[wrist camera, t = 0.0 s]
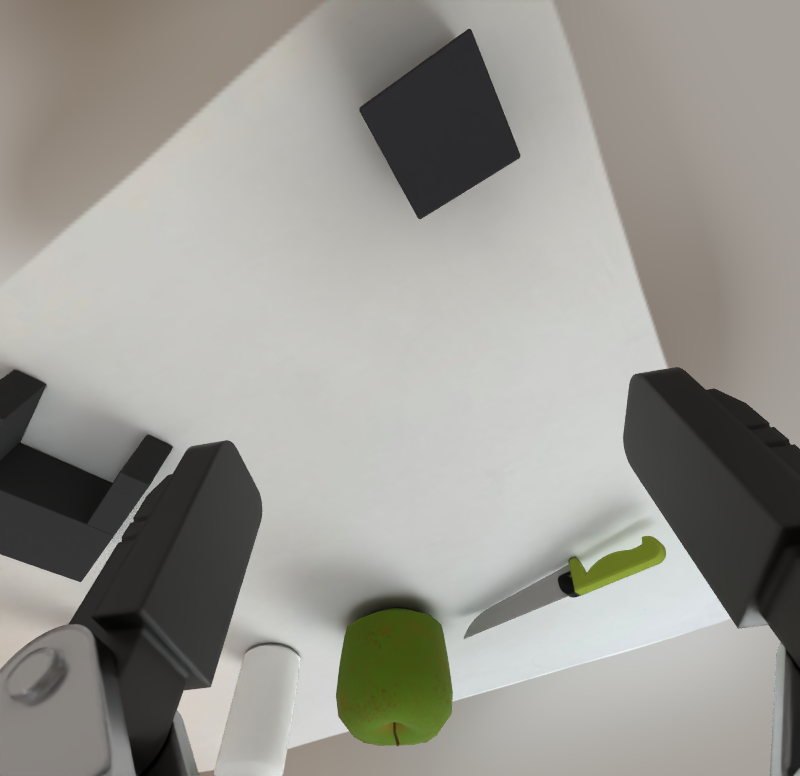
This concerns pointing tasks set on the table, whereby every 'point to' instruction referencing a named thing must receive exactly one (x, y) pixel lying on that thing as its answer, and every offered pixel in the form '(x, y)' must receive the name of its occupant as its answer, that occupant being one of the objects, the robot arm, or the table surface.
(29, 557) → the black flat forked piece
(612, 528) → the table surface
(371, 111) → the black block
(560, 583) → the kitchen knife
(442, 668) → the apple
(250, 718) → the can
